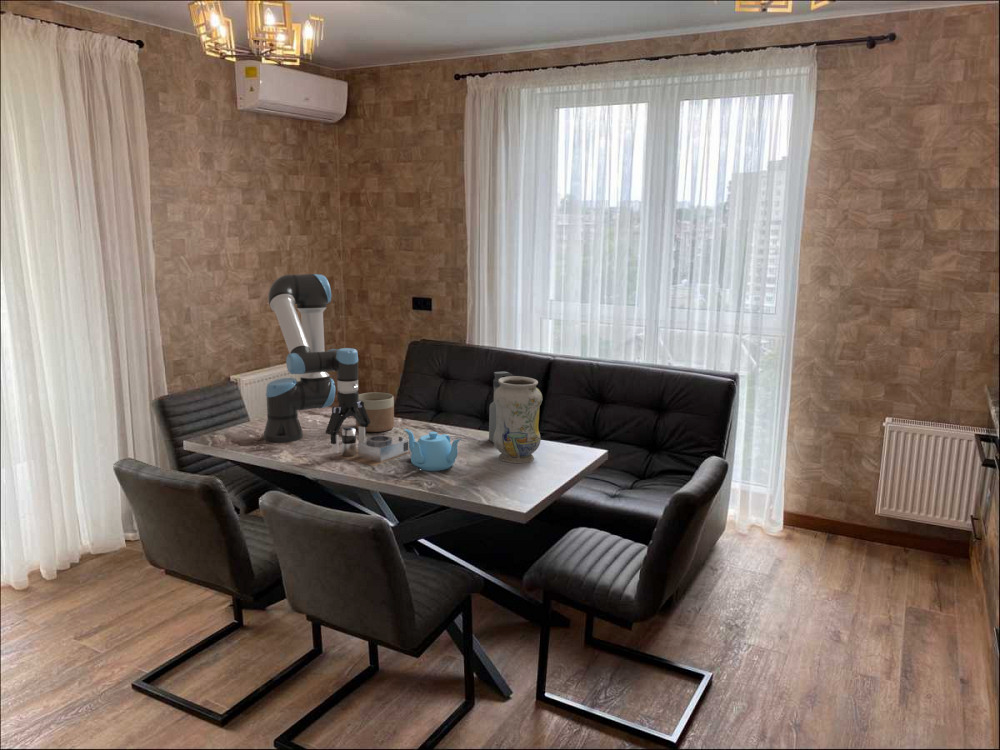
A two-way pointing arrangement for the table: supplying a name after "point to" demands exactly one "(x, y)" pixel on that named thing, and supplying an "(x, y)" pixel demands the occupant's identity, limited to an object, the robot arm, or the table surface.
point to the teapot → (432, 451)
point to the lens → (348, 441)
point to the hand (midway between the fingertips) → (349, 447)
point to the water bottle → (492, 406)
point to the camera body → (382, 447)
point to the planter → (378, 411)
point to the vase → (517, 418)
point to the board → (366, 461)
